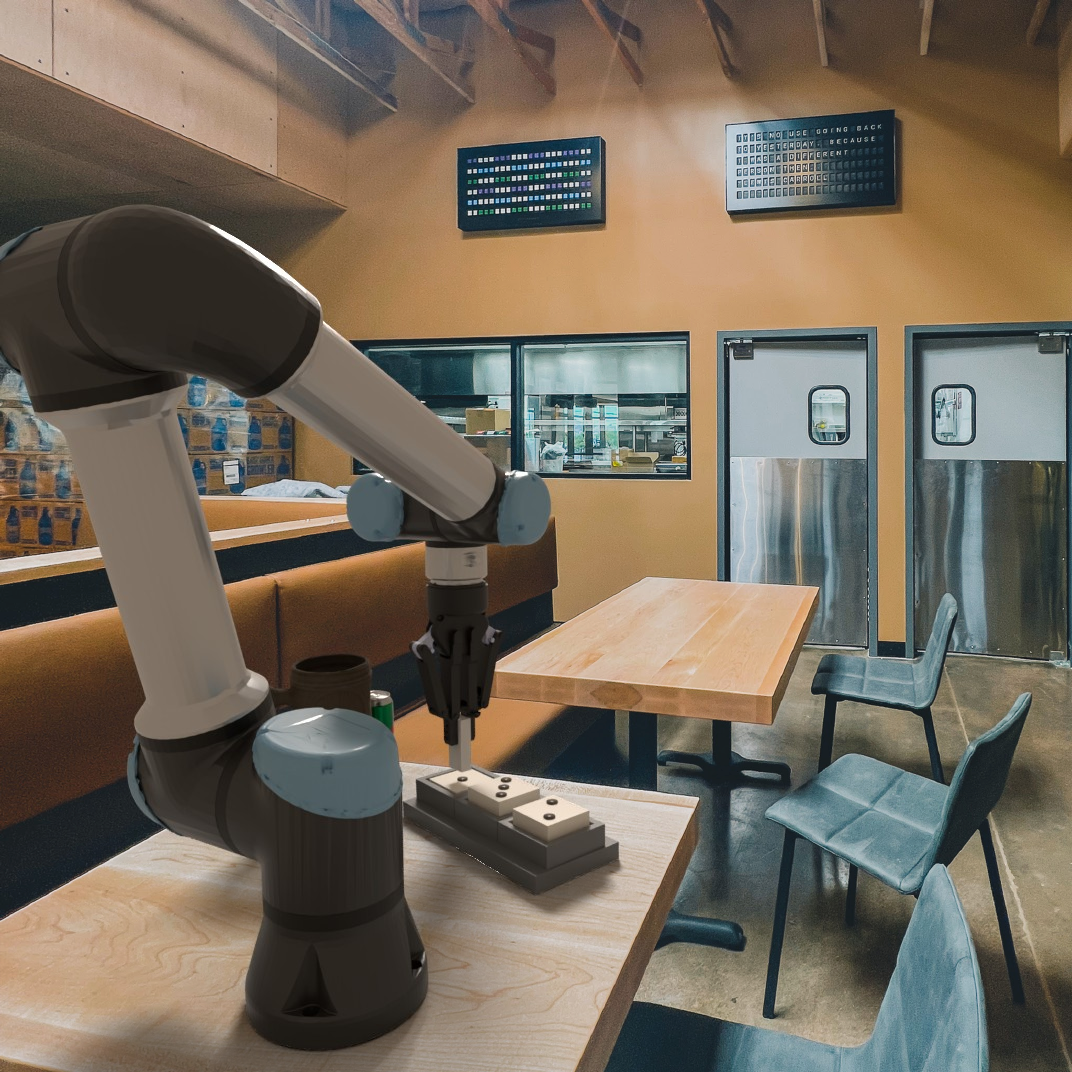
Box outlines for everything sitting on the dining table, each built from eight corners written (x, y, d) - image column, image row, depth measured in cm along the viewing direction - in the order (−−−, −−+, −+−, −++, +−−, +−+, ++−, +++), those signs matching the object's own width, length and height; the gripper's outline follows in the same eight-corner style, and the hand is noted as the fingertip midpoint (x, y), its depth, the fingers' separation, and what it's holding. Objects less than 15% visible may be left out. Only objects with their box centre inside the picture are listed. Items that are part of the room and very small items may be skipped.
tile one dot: (456, 812, 108) (456, 791, 108) (429, 798, 113) (429, 777, 112) (496, 799, 112) (496, 779, 111) (468, 785, 116) (468, 766, 116)
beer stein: (354, 787, 122) (339, 645, 119) (402, 809, 114) (387, 657, 111) (249, 830, 111) (230, 675, 108) (294, 857, 104) (274, 691, 100)
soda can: (379, 769, 128) (376, 687, 127) (403, 777, 125) (400, 693, 124) (351, 780, 125) (348, 695, 123) (375, 788, 121) (372, 702, 120)
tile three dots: (499, 823, 101) (498, 800, 101) (468, 807, 106) (468, 785, 106) (540, 808, 105) (539, 787, 105) (508, 793, 110) (508, 773, 109)
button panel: (535, 895, 92) (535, 853, 92) (403, 816, 112) (402, 781, 112) (618, 859, 100) (618, 820, 99) (481, 791, 120) (480, 758, 119)
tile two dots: (548, 848, 95) (547, 824, 94) (513, 830, 99) (512, 807, 99) (589, 832, 99) (589, 809, 98) (554, 815, 103) (553, 793, 103)
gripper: (428, 589, 102) (432, 789, 104) (517, 578, 110) (520, 764, 113) (394, 582, 108) (399, 772, 110) (481, 572, 116) (484, 749, 118)
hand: (460, 768), depth 111 cm, fingers closed
